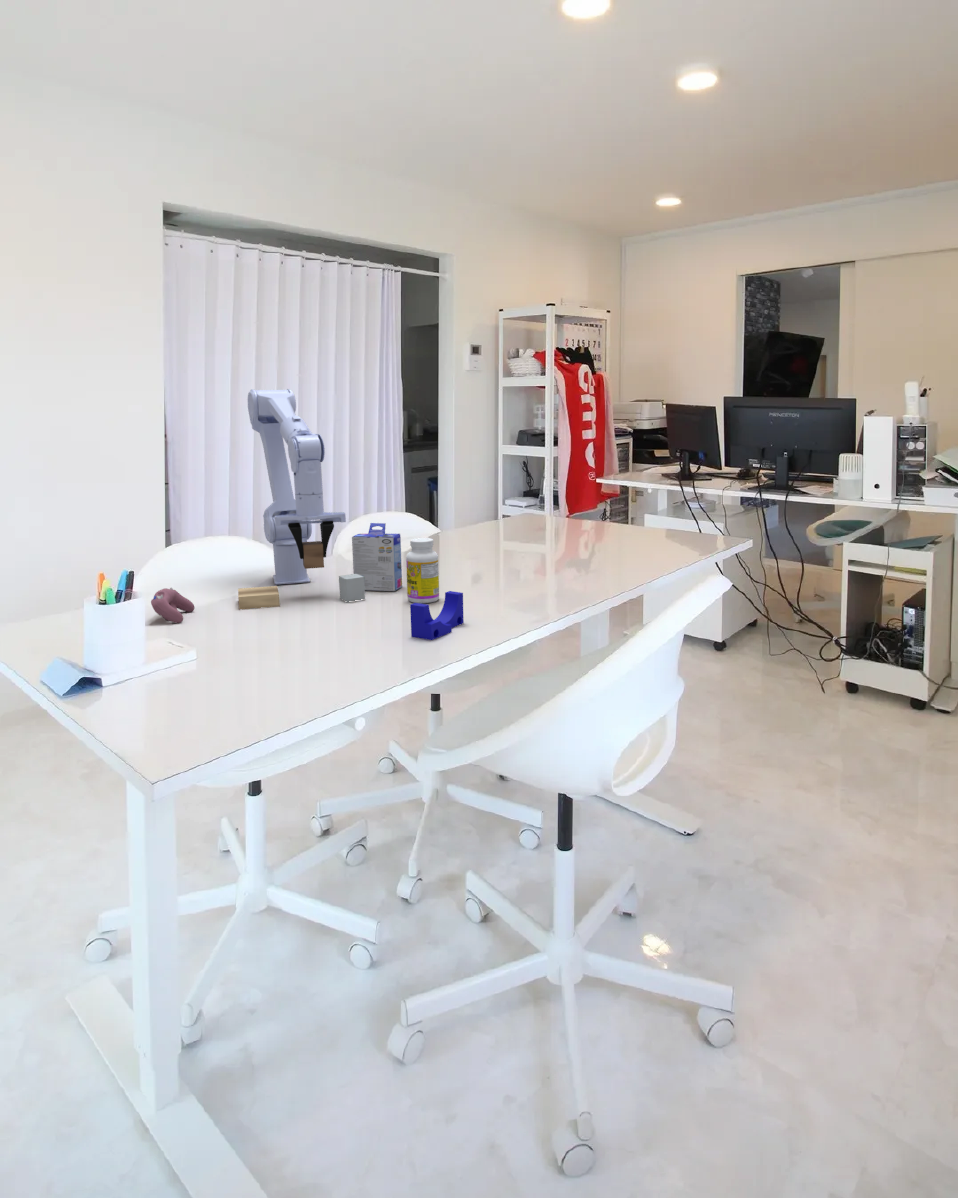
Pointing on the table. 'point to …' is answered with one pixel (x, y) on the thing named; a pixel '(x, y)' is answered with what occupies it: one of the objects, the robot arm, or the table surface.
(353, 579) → the grey block
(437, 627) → the blue cradle holder
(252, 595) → the oak slab
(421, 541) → the supplement bottle
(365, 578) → the ink cartridge box
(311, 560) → the walnut block
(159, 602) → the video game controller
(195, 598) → the table surface
